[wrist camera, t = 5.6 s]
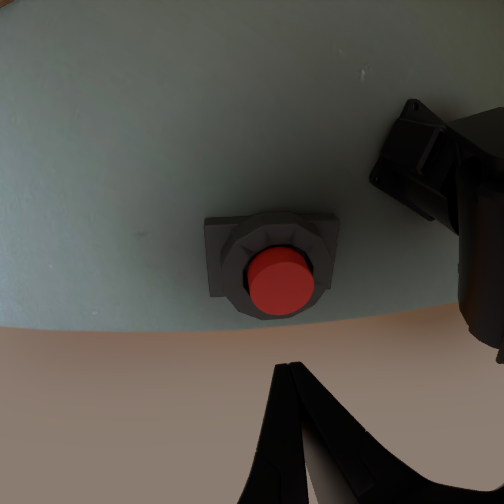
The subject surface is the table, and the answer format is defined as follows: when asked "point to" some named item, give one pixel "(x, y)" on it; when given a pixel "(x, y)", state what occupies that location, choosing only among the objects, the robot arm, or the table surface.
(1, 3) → the wooden box
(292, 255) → the button
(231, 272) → the control block
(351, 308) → the table surface
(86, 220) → the table surface
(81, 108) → the table surface
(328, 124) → the table surface
